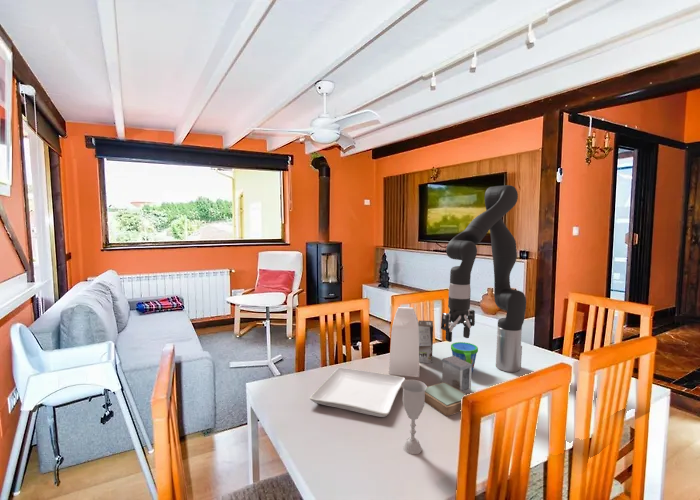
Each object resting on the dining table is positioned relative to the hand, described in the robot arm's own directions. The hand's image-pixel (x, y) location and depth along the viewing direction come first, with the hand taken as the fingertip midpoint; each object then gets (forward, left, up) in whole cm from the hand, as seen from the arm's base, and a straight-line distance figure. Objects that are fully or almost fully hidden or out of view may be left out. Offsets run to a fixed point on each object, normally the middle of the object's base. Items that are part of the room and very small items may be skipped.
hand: (457, 339), depth 138 cm
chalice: (+37, +21, -19) cm, 46 cm away
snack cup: (-14, -10, -19) cm, 25 cm away
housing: (0, 0, -19) cm, 18 cm away
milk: (+7, -22, -19) cm, 30 cm away
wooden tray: (+11, +6, -18) cm, 22 cm away
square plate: (+34, -12, -19) cm, 41 cm away
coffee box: (-8, -27, -19) cm, 34 cm away
